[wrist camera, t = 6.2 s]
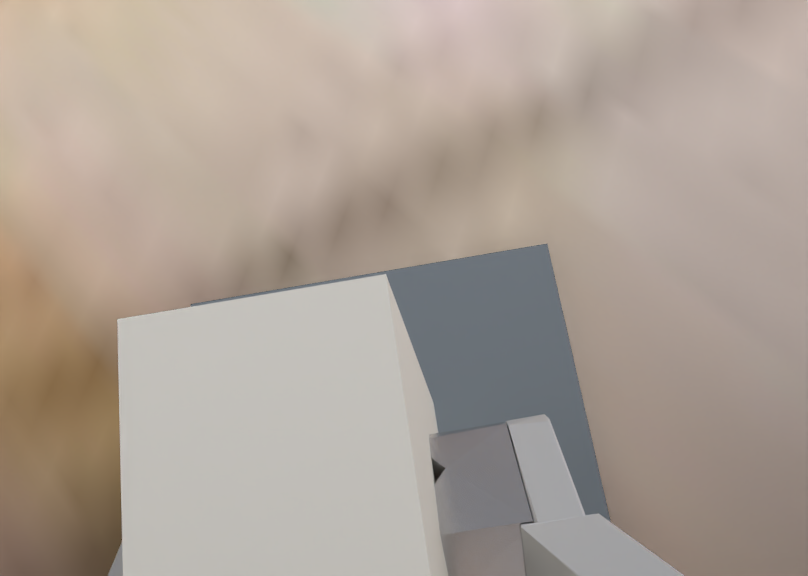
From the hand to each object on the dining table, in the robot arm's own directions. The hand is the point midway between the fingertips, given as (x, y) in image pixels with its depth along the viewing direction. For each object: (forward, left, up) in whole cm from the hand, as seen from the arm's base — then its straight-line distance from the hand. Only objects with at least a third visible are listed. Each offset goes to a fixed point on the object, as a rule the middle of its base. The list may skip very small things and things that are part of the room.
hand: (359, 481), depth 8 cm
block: (0, +1, -5) cm, 5 cm away
